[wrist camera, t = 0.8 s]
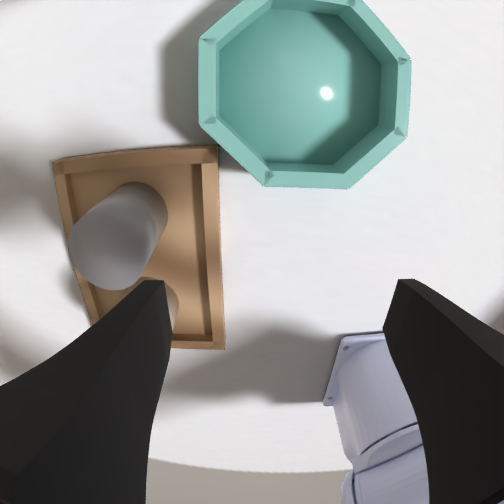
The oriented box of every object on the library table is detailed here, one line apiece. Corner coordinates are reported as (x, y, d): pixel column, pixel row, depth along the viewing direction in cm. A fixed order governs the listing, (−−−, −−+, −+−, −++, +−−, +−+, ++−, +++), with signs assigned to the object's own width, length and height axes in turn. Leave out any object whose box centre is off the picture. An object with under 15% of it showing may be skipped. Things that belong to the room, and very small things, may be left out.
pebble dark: (171, 243, 18) (150, 291, 14) (112, 244, 18) (79, 288, 14) (165, 179, 17) (137, 211, 12) (101, 184, 16) (60, 215, 12)
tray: (225, 338, 23) (224, 349, 22) (104, 332, 22) (99, 342, 21) (218, 145, 16) (216, 148, 15) (62, 158, 16) (52, 163, 15)
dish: (381, 179, 17) (399, 192, 15) (206, 174, 17) (200, 187, 15) (389, 17, 12) (410, 8, 10) (206, -1, 12) (200, -17, 10)
